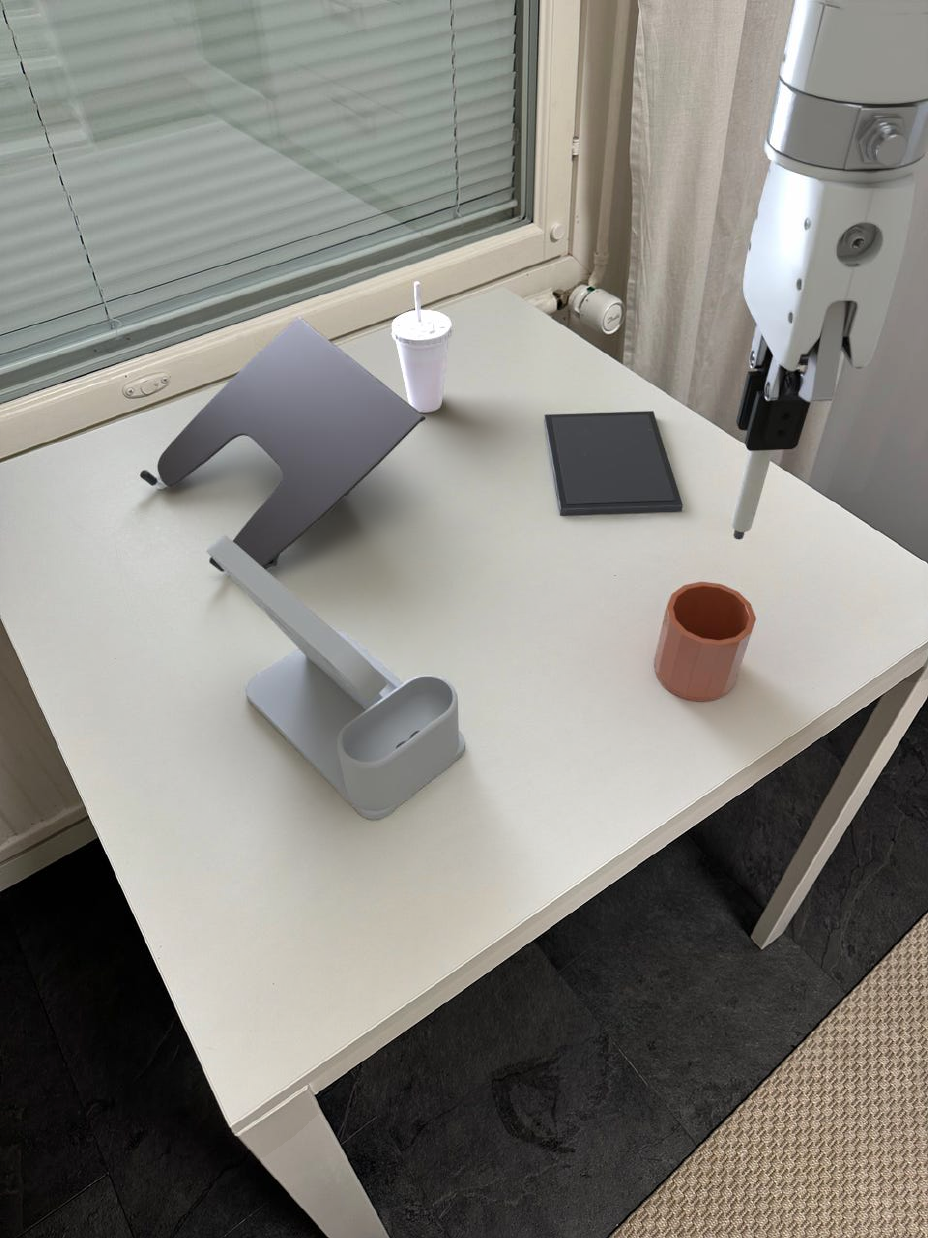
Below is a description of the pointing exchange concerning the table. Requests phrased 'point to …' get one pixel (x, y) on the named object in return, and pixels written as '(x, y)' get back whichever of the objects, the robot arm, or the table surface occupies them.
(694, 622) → the pencil cup
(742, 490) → the stylus
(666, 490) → the tablet
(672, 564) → the table surface
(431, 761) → the phone holder
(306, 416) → the laptop tray
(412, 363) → the smoothie
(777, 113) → the robot arm
